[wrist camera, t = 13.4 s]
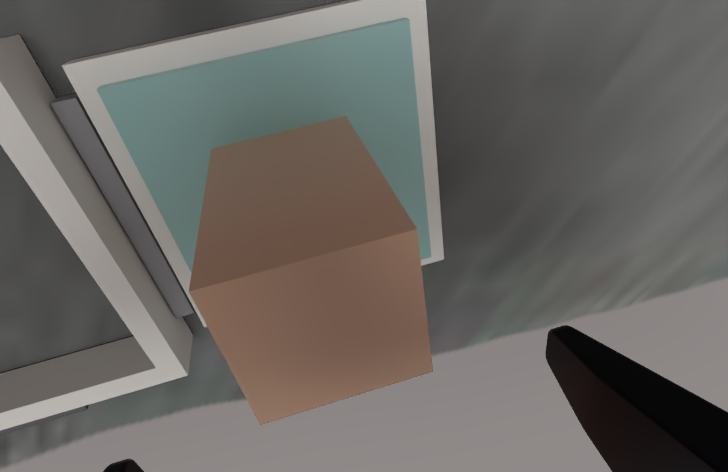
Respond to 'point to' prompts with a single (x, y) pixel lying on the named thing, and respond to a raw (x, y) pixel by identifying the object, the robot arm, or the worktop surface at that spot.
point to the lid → (252, 116)
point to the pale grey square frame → (97, 252)
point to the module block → (308, 270)
